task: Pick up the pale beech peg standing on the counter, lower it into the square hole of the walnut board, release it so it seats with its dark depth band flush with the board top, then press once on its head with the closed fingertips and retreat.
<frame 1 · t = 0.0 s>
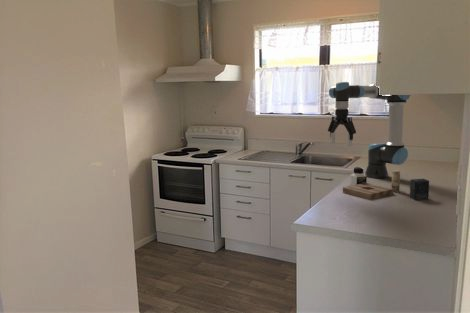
hand: (341, 144, 232), 28 cm above the worktop, fingers open, 13 cm apart
box: (418, 198, 214), on the worktop
peg: (395, 190, 231), on the worktop
board: (367, 193, 228), on the worktop
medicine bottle: (358, 186, 245), on the worktop
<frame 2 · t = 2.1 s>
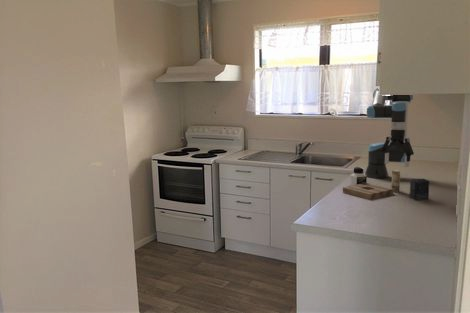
hand: (396, 165, 228), 16 cm above the worktop, fingers open, 13 cm apart
nothing on the worktop moved.
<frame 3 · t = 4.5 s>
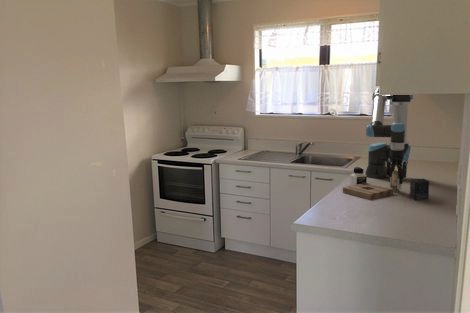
hand: (395, 188, 231), 2 cm above the worktop, fingers closed on peg, 4 cm apart
peg: (395, 190, 231), on the worktop, touching gripper
everything else where it was.
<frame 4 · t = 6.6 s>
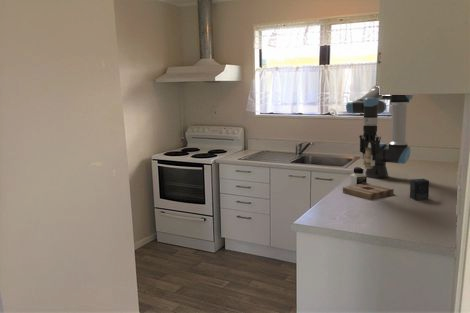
hand: (368, 165, 225), 17 cm above the worktop, fingers closed on peg, 4 cm apart
peg: (368, 168, 225), point 15 cm above the worktop, touching gripper
everything else where it was.
when the fingers open (4 cm above the worktop, at t = 9.1 s): peg drops 2 cm, resting in board.
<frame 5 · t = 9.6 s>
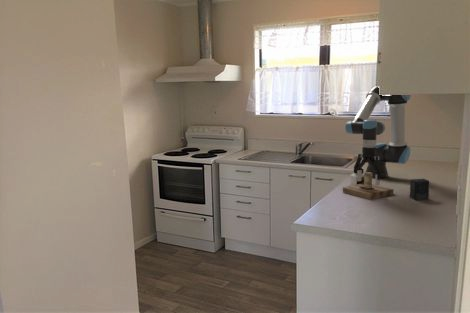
hand: (368, 183, 227), 6 cm above the worktop, fingers open, 12 cm apart
peg: (367, 193, 228), resting in board
everything else where it was.
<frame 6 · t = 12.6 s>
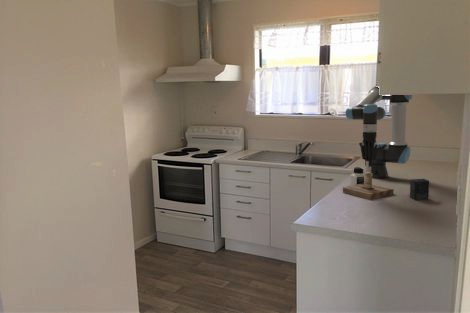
hand: (368, 171, 226), 13 cm above the worktop, fingers closed
nothing on the worktop moved.
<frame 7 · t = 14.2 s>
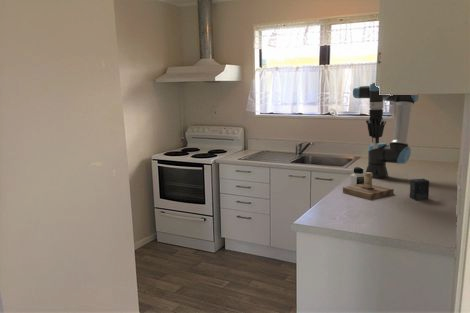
hand: (375, 148, 233), 25 cm above the worktop, fingers closed
nothing on the worktop moved.
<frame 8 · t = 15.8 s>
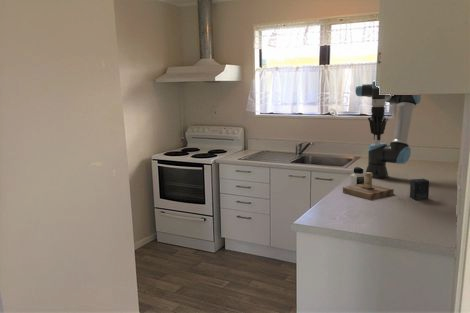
hand: (376, 145, 236), 26 cm above the worktop, fingers closed
nothing on the worktop moved.
at the end: peg 0.0 cm off-centre on the board, point 0.0 cm above the board's base; peg tilted 0°; the gripper is holding nothing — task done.
